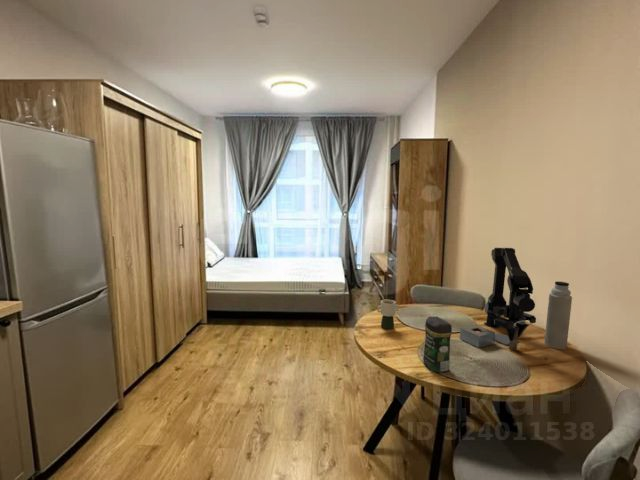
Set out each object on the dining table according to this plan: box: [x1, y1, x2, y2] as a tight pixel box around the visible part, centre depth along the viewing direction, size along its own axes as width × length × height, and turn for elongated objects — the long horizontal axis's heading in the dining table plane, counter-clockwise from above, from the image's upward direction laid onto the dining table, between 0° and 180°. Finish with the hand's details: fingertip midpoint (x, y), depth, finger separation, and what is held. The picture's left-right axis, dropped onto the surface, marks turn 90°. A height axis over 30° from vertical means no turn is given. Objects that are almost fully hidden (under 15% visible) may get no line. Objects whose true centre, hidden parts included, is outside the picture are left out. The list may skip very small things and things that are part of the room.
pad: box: [495, 333, 520, 347], centre depth 151 cm, size 9×9×1 cm
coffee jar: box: [422, 315, 453, 373], centre depth 125 cm, size 10×8×19 cm
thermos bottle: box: [544, 281, 573, 350], centre depth 145 cm, size 8×8×28 cm
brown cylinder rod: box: [508, 326, 519, 352], centre depth 141 cm, size 3×3×10 cm
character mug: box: [377, 299, 400, 330], centre depth 163 cm, size 11×7×13 cm, turn 102°
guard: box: [459, 324, 496, 348], centre depth 149 cm, size 10×10×5 cm
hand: (513, 340), depth 141 cm, fingers closed on brown cylinder rod, 3 cm apart
